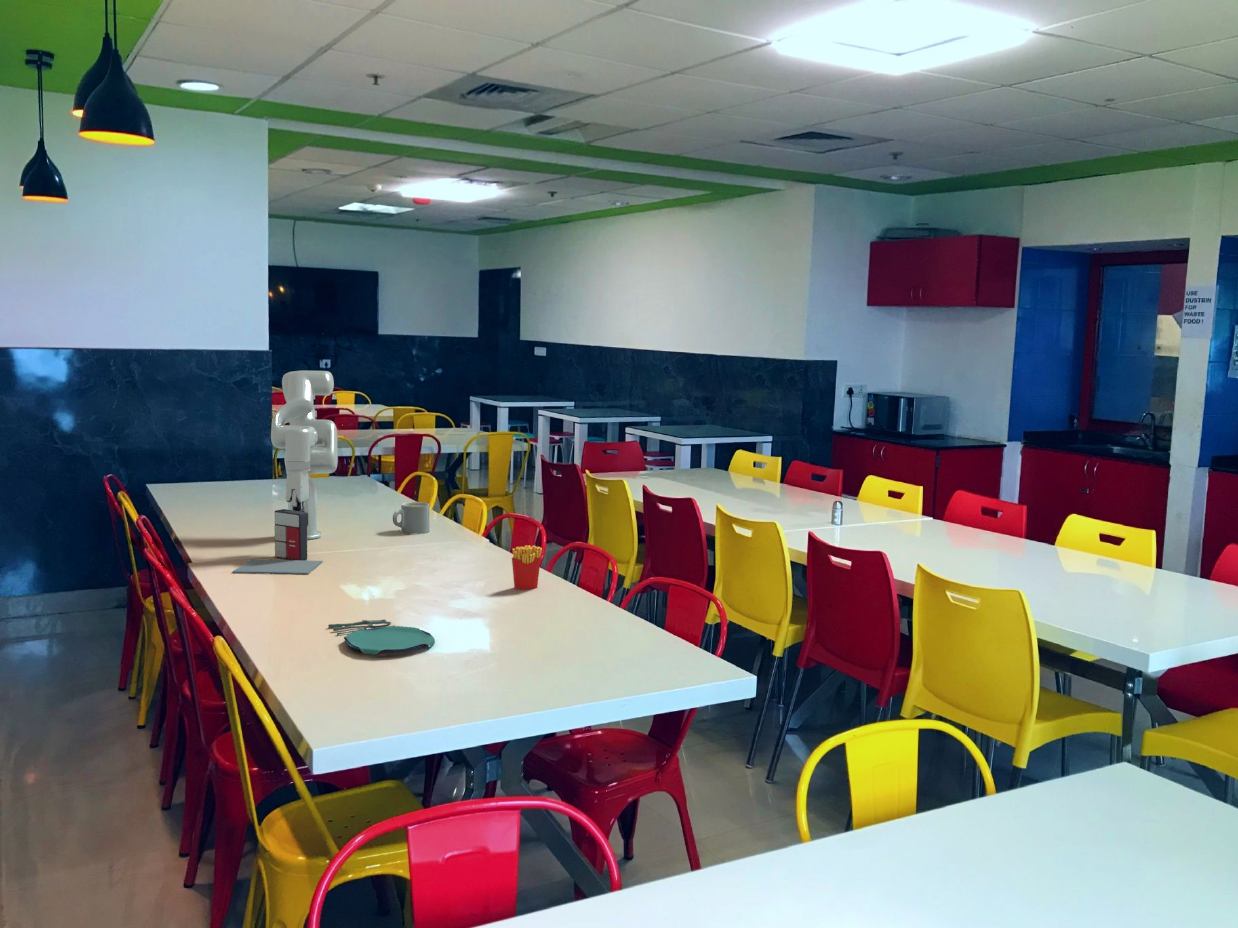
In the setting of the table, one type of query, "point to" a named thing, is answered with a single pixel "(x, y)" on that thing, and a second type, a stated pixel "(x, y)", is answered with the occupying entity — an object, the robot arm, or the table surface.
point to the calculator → (291, 534)
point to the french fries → (526, 566)
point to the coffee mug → (413, 517)
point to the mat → (278, 566)
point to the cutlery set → (384, 637)
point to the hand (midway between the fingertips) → (298, 522)
